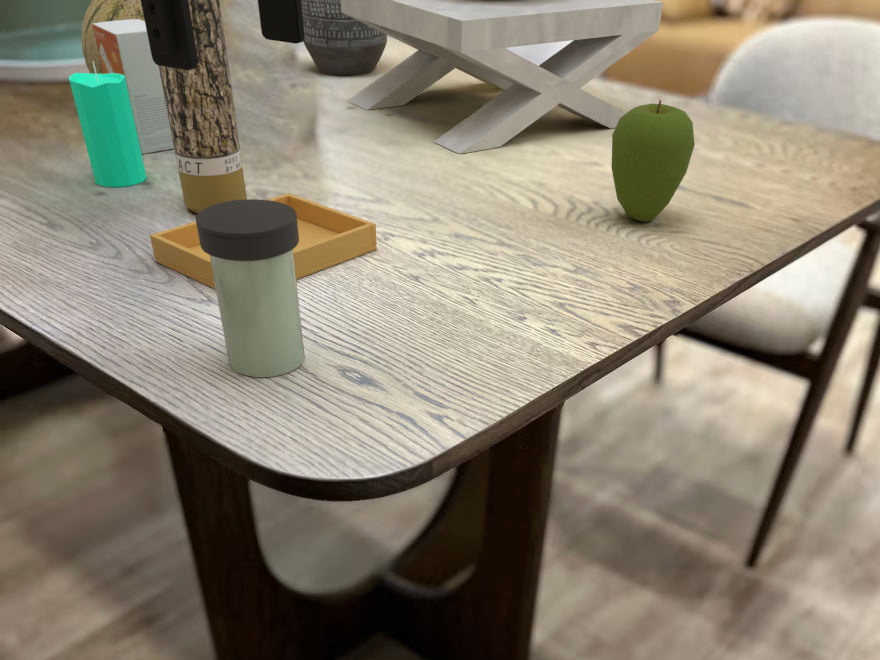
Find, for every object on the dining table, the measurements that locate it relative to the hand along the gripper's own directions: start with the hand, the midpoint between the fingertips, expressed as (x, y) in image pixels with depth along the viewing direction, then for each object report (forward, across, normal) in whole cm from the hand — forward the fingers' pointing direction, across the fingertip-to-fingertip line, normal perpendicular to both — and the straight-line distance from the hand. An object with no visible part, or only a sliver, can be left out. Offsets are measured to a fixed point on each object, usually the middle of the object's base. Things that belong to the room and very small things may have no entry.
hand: (233, 52), depth 53 cm
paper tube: (+21, -24, -29) cm, 43 cm away
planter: (+21, -88, -60) cm, 109 cm away
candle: (+21, -25, -45) cm, 56 cm away
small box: (+21, -38, -53) cm, 68 cm away
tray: (+21, -17, -15) cm, 31 cm away
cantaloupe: (+21, -50, -67) cm, 87 cm away
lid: (+10, 0, -1) cm, 10 cm away
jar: (+21, 0, -1) cm, 21 cm away
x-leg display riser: (+21, -78, -25) cm, 85 cm away
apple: (+21, -48, +11) cm, 53 cm away
